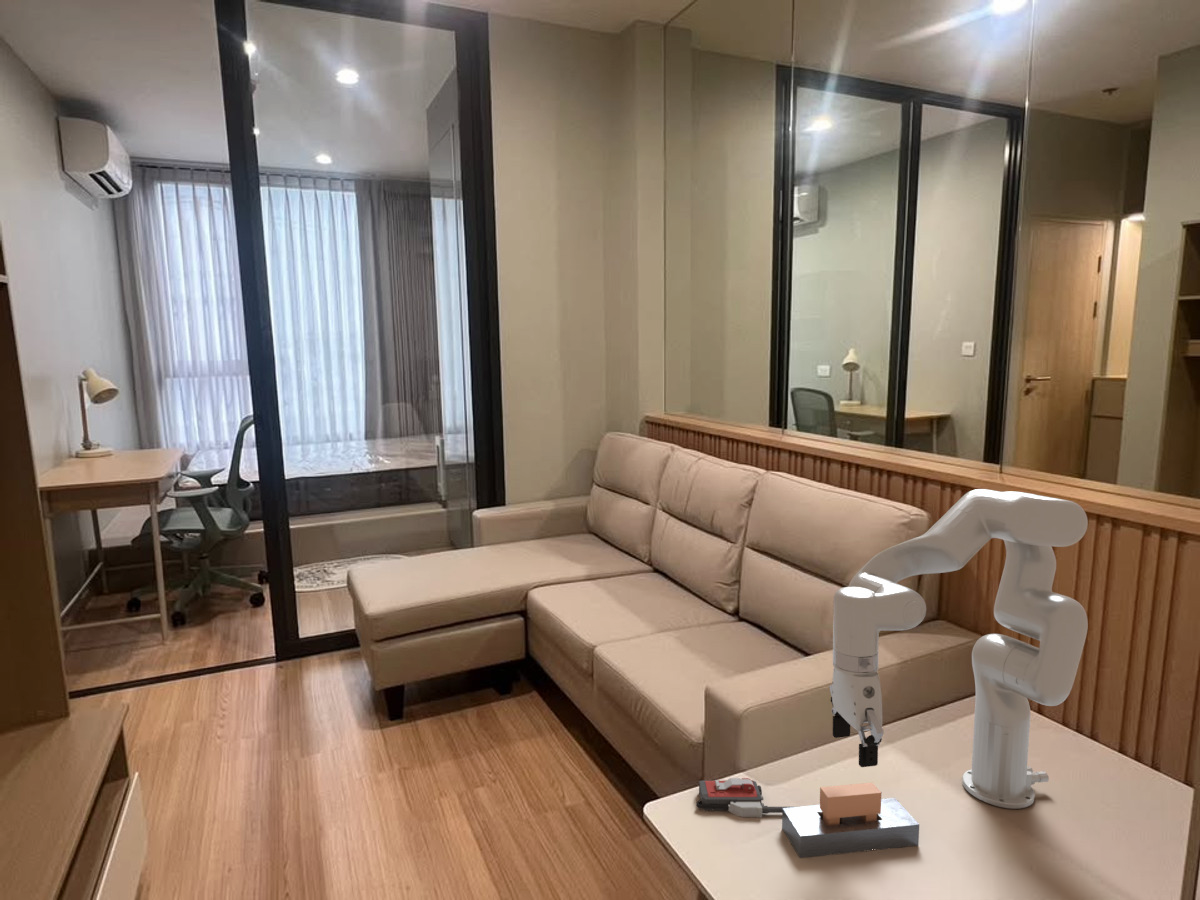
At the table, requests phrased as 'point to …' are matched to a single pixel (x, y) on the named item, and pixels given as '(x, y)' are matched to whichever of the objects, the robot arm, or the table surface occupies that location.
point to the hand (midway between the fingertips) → (854, 750)
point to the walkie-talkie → (734, 797)
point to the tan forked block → (850, 802)
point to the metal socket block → (849, 830)
